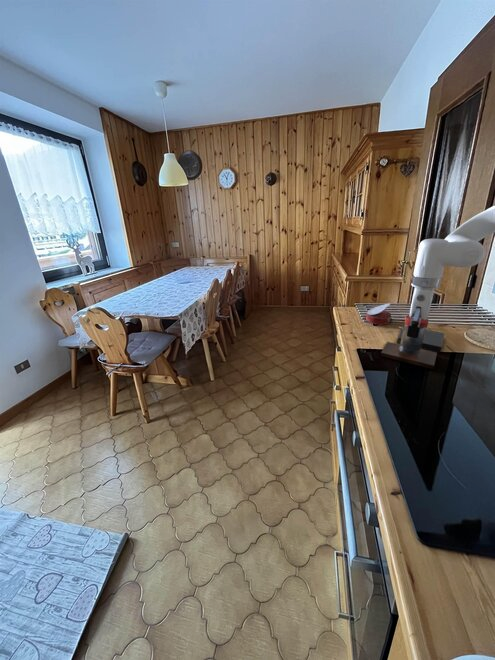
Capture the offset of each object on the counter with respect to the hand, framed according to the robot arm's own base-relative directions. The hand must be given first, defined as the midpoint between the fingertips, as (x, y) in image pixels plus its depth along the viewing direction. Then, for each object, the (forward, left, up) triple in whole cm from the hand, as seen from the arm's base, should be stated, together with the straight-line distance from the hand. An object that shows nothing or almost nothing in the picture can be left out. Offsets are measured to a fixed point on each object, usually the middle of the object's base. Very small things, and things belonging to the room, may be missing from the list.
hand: (413, 331), depth 95 cm
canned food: (+16, -25, -10) cm, 32 cm away
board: (0, 0, -10) cm, 10 cm away
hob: (-2, -13, -10) cm, 17 cm away
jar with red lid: (0, 0, -7) cm, 7 cm away
